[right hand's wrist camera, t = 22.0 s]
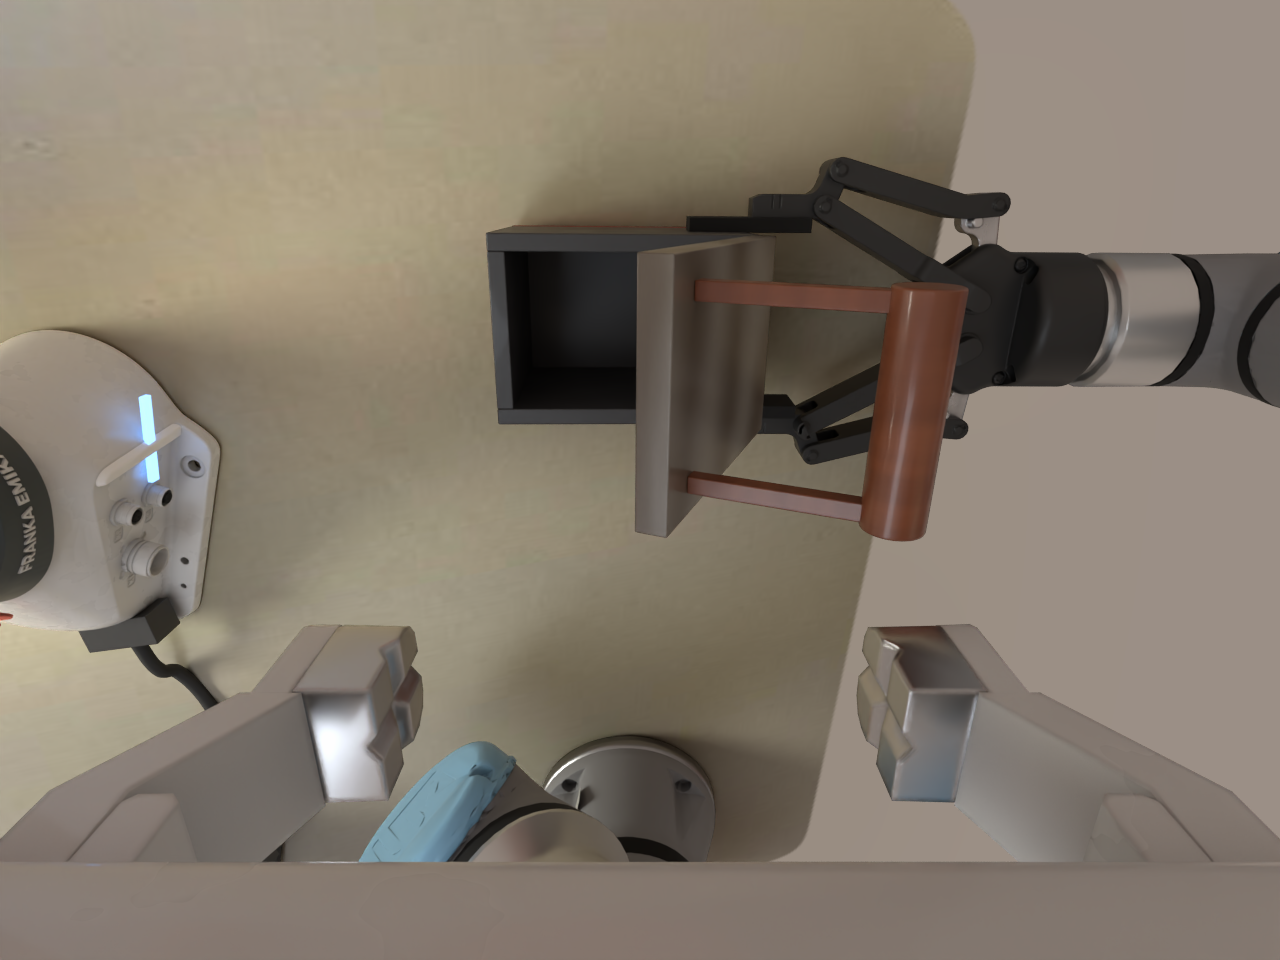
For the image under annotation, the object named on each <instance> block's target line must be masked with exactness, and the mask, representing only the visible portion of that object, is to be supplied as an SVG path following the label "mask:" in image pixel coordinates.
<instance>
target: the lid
mask: <svg viewBox="0 0 1280 960" xmlns="http://www.w3.org/2000/svg"><path fill="white" fill-rule="evenodd" d="M775 245H776V236H745V237H738V238H731V239H724V240H717V241H711V242H704V243H697V244H690V245H683V246H676V247H669V248H663V249H656V250H649V251H642V252H638V254H637V355H636V476H635V532H638V533H644V534H649V535H654V536H659V537H664V538H667V537H668V536H669V535H670V533H671V532H672V531H673V530H674V529H675V528H676V526H677V525H678V524H679V523H680V522H681V521H682V520H683V518H684V517H685V516H686V515H687V514H688V513H689V511H690V510H691V509H692V508H693V507H694V506H695V505H696V503H697V502H698V501H699V500H700V499H701V498H702V496H706V497H712V498H718V499H724V500H730V501H736V502H742V503H748V504H754V505H760V506H766V507H772V508H778V509H784V510H790V511H796V512H802V513H808V514H814V515H820V516H826V517H832V518H838V519H844V520H850V521H856V522H859V526H860V527H861V529H863V530H864V531H865V532H867V533H868V534H870V535H873V536H875V537H878V538H882V539H886V540H892V541H913V540H917V539H920V538H921V537H923V536H924V534H925V533H926V528H927V522H928V517H929V511H930V506H931V500H932V494H933V489H934V483H935V477H936V472H937V466H938V461H939V455H940V449H941V444H942V438H943V433H944V427H945V421H946V416H947V410H948V404H949V399H950V393H951V388H952V382H953V376H954V371H955V365H956V360H957V354H958V348H959V343H960V337H961V331H962V326H963V320H964V315H965V309H966V303H967V298H968V292H969V290H968V288H967V287H965V286H961V285H954V284H945V283H931V282H901V283H895V284H892V286H891V288H883V287H864V286H844V285H825V284H805V283H785V282H773V271H774V258H775ZM771 306H777V307H792V308H808V309H824V310H840V311H855V312H871V313H887V318H886V325H885V332H884V339H883V347H882V354H881V361H880V368H879V376H878V383H877V390H876V397H875V405H874V412H873V419H872V426H871V434H870V441H869V448H868V455H867V463H866V470H865V477H864V485H863V492H862V497H860V496H853V495H847V494H841V493H834V492H828V491H821V490H815V489H808V488H802V487H795V486H789V485H782V484H776V483H769V482H763V481H756V480H750V479H743V478H737V477H730V476H724V475H722V473H723V472H724V471H725V470H726V469H727V468H728V467H729V465H730V464H731V463H732V462H733V461H734V460H735V458H736V457H737V456H738V455H739V454H740V453H741V452H742V450H743V449H744V448H745V447H746V446H747V445H748V443H749V442H750V441H751V440H752V439H753V438H754V437H755V435H756V434H757V433H758V432H759V431H760V430H761V426H762V413H763V400H764V387H765V374H766V361H767V348H768V335H769V323H770V310H771Z"/></svg>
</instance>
